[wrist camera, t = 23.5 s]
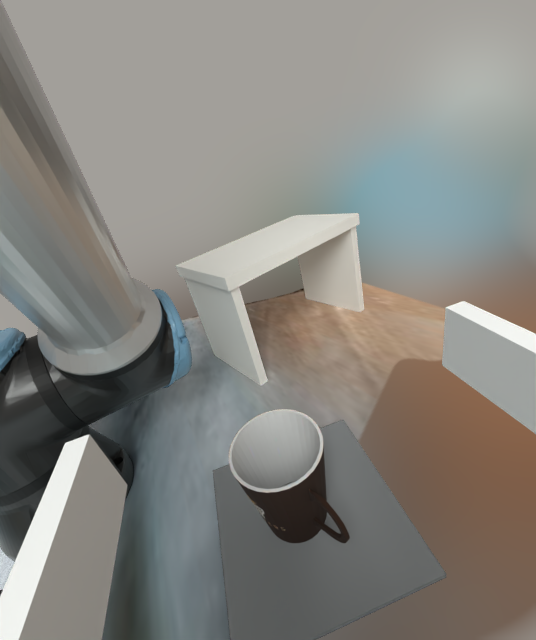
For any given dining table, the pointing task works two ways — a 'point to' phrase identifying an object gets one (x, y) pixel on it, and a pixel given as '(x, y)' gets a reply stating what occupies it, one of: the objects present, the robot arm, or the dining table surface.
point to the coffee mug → (285, 474)
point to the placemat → (320, 553)
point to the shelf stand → (262, 256)
